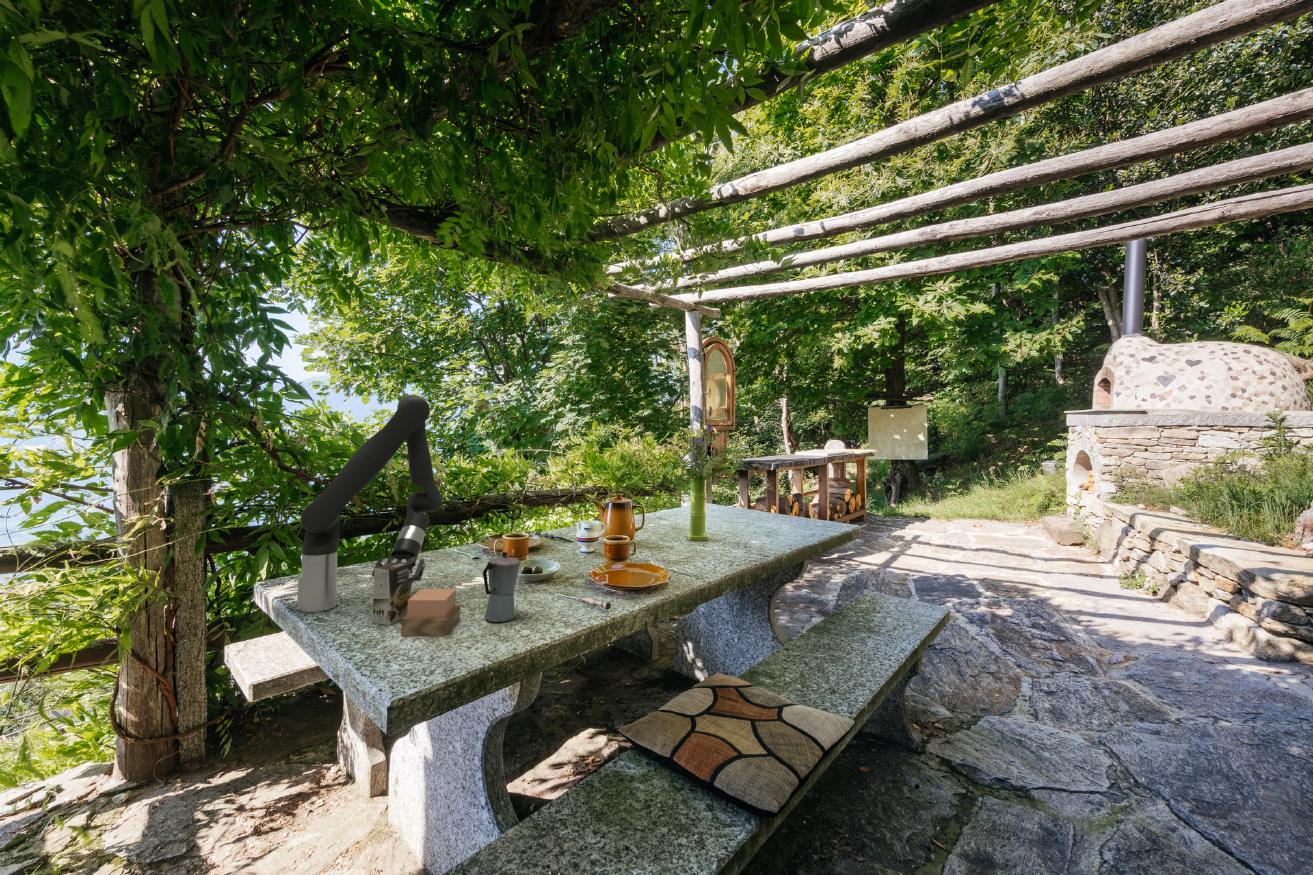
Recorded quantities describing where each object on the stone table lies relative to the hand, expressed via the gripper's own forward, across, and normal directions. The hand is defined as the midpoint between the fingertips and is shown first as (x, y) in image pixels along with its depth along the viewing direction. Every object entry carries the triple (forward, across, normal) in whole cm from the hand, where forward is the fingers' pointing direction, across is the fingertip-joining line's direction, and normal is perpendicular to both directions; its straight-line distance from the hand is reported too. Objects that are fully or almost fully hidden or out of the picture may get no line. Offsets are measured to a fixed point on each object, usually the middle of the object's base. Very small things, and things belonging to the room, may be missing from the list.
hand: (390, 591), depth 152 cm
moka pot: (+4, +31, +9) cm, 32 cm away
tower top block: (+6, +14, 0) cm, 15 cm away
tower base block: (+10, +14, +3) cm, 17 cm away
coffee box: (+5, 0, +7) cm, 9 cm away
